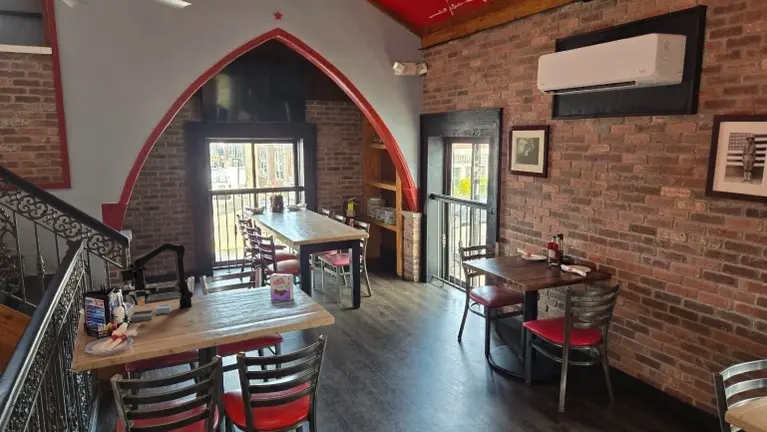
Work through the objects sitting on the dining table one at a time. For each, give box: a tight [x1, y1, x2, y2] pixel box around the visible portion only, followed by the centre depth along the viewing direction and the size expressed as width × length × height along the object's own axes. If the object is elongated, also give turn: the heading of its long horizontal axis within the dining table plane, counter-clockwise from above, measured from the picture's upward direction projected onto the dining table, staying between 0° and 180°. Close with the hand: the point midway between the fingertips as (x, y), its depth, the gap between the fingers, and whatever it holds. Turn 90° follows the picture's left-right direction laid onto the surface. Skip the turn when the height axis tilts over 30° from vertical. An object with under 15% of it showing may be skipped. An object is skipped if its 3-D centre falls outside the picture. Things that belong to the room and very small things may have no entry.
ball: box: [137, 298, 146, 307], centre depth 310 cm, size 4×4×4 cm
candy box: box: [269, 272, 295, 302], centre depth 339 cm, size 14×6×16 cm, turn 73°
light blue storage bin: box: [156, 303, 172, 315], centre depth 320 cm, size 7×7×4 cm
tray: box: [129, 309, 156, 322], centre depth 311 cm, size 12×12×2 cm
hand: (141, 304), depth 310 cm, fingers closed on ball, 4 cm apart
